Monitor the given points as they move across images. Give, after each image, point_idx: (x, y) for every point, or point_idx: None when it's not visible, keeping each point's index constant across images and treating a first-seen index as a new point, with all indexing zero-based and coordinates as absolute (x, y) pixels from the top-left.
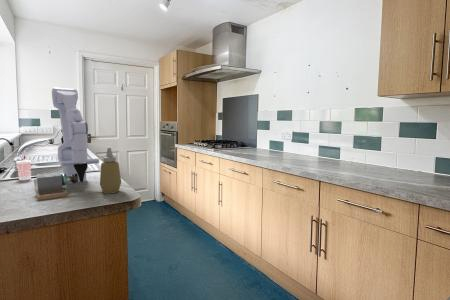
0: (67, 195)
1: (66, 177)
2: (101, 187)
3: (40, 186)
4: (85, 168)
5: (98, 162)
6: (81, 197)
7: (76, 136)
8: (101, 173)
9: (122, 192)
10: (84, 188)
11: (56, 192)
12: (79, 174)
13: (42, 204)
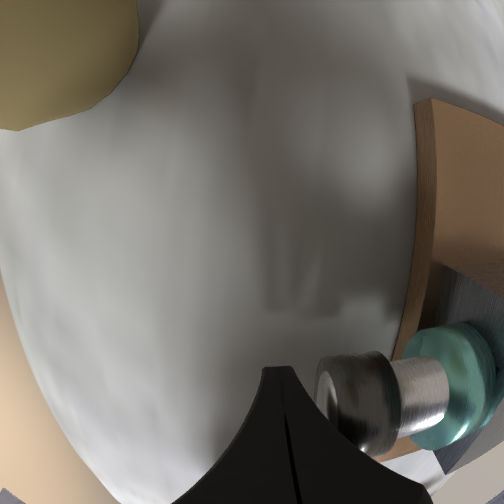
0: (420, 103)
1: (464, 364)
2: (133, 18)
3: None
4: (212, 501)
5: (3, 499)
6: (322, 11)
7: None
8: None
9: None
10: (254, 319)
11: (486, 172)
12: (320, 425)
13: (495, 55)
